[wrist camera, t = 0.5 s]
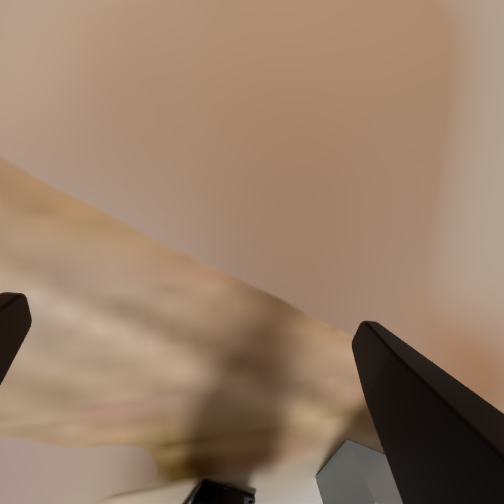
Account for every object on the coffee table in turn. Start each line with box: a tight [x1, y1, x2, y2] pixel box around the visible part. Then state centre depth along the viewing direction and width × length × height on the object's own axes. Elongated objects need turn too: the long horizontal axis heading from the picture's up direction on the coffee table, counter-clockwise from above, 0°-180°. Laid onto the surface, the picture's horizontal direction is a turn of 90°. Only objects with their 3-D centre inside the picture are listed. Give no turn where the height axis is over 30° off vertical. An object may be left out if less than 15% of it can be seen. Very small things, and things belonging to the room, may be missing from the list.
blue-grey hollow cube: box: [315, 439, 403, 504], centre depth 29 cm, size 6×6×6 cm
